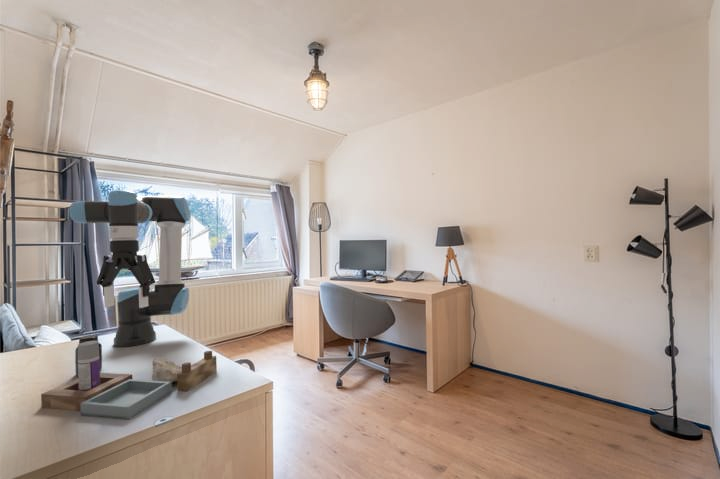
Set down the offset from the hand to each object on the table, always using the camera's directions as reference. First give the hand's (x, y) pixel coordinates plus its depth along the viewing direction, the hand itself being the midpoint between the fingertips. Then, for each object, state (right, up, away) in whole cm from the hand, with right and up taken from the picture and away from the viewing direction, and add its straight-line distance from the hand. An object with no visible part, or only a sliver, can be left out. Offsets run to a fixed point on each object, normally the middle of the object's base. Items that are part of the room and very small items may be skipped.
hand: (126, 306), depth 104 cm
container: (-1, -23, -12) cm, 26 cm away
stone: (+16, -22, -3) cm, 27 cm away
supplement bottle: (-16, -23, +4) cm, 28 cm away
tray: (+13, -22, -17) cm, 31 cm away
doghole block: (-1, -23, -12) cm, 26 cm away
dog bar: (+25, -22, -4) cm, 33 cm away
